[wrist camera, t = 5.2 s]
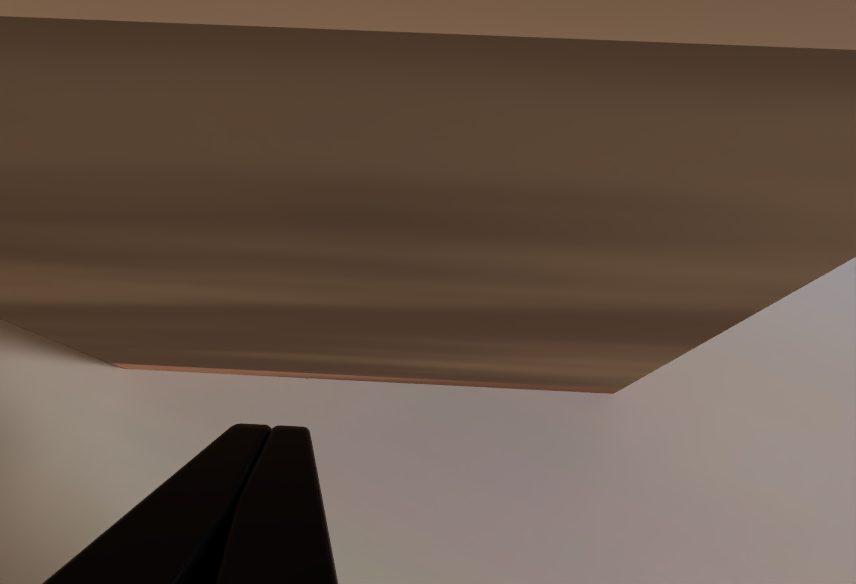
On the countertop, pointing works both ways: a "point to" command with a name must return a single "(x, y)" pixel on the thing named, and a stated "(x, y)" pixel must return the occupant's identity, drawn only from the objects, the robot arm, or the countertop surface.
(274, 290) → the walnut slab
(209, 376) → the countertop surface
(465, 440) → the countertop surface
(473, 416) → the countertop surface
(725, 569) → the countertop surface
